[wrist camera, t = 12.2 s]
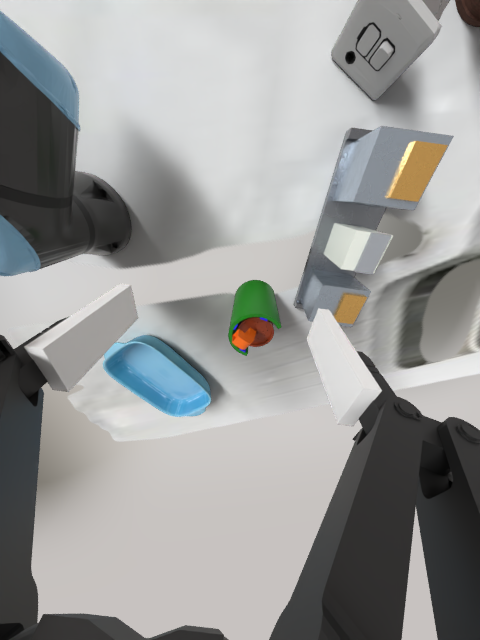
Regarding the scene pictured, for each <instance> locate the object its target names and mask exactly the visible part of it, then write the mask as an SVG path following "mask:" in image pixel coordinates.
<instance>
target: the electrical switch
mask: <svg viewBox="0 0 480 640" xmlns="http://www.w3.org/2000/svg"><path fill="white" fill-rule="evenodd" d="M449 1H450V0H358V1H357V3H356V5H355V7H354V9H353V11H352V13H351V15H350V17H349V18H348V20H347V22H346V24H345V26H344V28H343V30H342V32H341V34H340V35H339V37H338V39H337V41H336V43H335V45H334V47H333V49H332V51H331V56H332V59H333V60H334V61H335V62H336V63H337V64H338V65H339V66H340V67H341V68H342V69H343V70H344V71H345V72H346V73H347V74H348V75H349V76H350V77H351V78H352V79H353V80H354V81H355V82H356V83H357V84H358V85H359V86H360V87H361V88H362V89H363V90H364V91H365V92H366V93H367V94H368V95H369V96H370V97H371V98H372V99H373V100H374V99H378V98H379V97H380V96H381V95H382V94H383V93H384V92H385V91H386V90H387V89H388V88H389V87H390V86H391V85H392V84H393V83H394V82H395V81H396V80H397V79H398V77H399V76H400V75H401V74H402V73H403V72H404V71H405V70H406V69H407V68H408V67H409V66H410V65H411V64H412V63H413V62H414V61H415V60H416V59H417V58H418V57H419V56H420V55H421V54H422V53H423V52H424V51H425V50H426V49H427V48H428V47H429V46H430V45H431V44H432V42H433V41H434V39H435V38H436V37H437V35H438V33H439V31H440V29H441V27H442V26H441V24H440V23H439V22H438V21H439V19H440V17H441V15H442V12H443V11H444V9H445V7H446V6H447V4H448V3H449ZM440 4H441V5H440Z"/></svg>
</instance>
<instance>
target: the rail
mask: <svg viewBox="0 0 480 640" xmlns="http://www.w3.org/2000/svg"><path fill="white" fill-rule="evenodd" d="M453 137H454V136H450V135H443V134H435V133H428V132H421V131H414V130H407V129H400V128H393V127H385V126H381V127H379V128H377V129H375V130H374V131H372V130H365V129H357V128H351V129H349V130H348V131H346V134H345V137H344V140H343V144H342V147H341V150H340V153H339V157H338V160H337V163H336V167H335V170H334V173H333V176H332V180H331V183H330V186H329V190H328V193H327V196H326V199H325V203H324V206H323V209H322V213H321V216H320V219H319V222H318V226H317V229H316V232H315V236H314V239H313V242H312V246H311V249H310V252H309V256H308V259H307V262H306V265H305V269H304V272H303V275H302V278H301V282H300V285H299V288H298V291H297V295H296V298H295V301H294V306H295V308H300V309H304V311H305V314H306V316H307V318H308V321H312V322H313V321H314V318H315V316H316V313H317V310H318V308H319V309H327V310H330V312H331V313H332V315H333V316H334V318H335V319H336V321H337V323H338V324H339V325H341V326H348V327H352V326H353V324H354V323H355V321H356V319H357V317H358V315H359V313H360V311H361V309H362V308H363V306H364V304H365V302H366V300H367V298H368V296H369V294H370V292H371V291H370V290H369V289H367V288H366V287H365V286H364V285H363V284H361V283H360V282H359V281H358V280H357V279H355V278H354V277H355V275H356V272H355V271H351V270H344V269H340V268H339V267H338V266H337V265H336V264H334V263H333V262H332V261H331V260H330V259H329V258H327V257H326V256H325V255H324V251H325V248H326V246H327V243H328V240H329V237H330V234H331V231H332V228H333V225H334V223H339V224H346V225H353V226H360V227H365V228H369V229H372V230H376V229H377V227H378V225H379V222H380V220H381V218H382V216H383V214H384V212H385V209H386V208H394V209H406V210H415V208H416V206H417V204H418V202H419V200H420V199H421V197H422V195H423V193H424V191H425V189H426V187H427V185H428V184H429V182H430V180H431V178H432V176H433V174H434V172H435V170H436V168H437V167H438V165H439V163H440V161H441V159H442V157H443V155H444V153H445V152H446V150H447V148H448V146H449V144H450V142H451V140H452V138H453Z"/></svg>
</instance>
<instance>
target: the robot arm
mask: <svg viewBox="0 0 480 640" xmlns="http://www.w3.org/2000/svg"><path fill="white" fill-rule="evenodd" d="M78 120H79V92H78V88H77V85H76V83H75V81H74V79H73V78H72V76H71V74H70V73H69V72H68V70H67V69H66V68H65V67H64V66H63V65H62V64H61V63H60V62H59V61H58V60H57V59H56V58H55V57H54V56H52V55H51V54H50V53H49V52H48V51H47V50H46V49H45V48H43V47H42V46H41V45H40V44H39V43H38V42H37V41H35V40H34V39H33V38H32V37H31V36H30V35H28V34H27V33H26V32H25V31H24V30H23V29H21V28H20V27H19V26H18V25H17V24H16V23H14V22H13V21H12V20H11V19H10V18H8V17H7V16H6V15H5V14H4V13H2V12H1V11H0V276H13V275H17V274H21V273H25V272H33V271H37V270H39V269H41V268H44V267H47V266H49V265H52V264H55V263H58V262H61V261H64V260H67V259H69V258H72V257H75V256H78V255H81V254H93V255H109V254H113V253H115V252H118V251H120V250H122V249H123V248H124V247H125V246H126V245H127V243H128V241H129V239H130V235H131V222H130V217H129V214H128V211H127V209H126V207H125V205H124V203H123V201H122V200H121V198H120V197H119V195H118V194H117V193H116V192H115V190H114V189H113V188H112V187H111V186H110V185H108V184H107V183H106V182H105V181H103V180H102V179H100V178H98V177H97V176H94V175H92V174H89V173H85V172H78V171H75V165H76V153H77V141H78V131H80V125H79V123H78ZM137 319H138V315H137V311H136V306H135V301H134V297H133V292H132V288H131V285H127V284H119V285H117V286H116V287H114V288H113V289H111V290H110V291H108V292H106V293H105V294H103V295H102V296H100V297H99V298H97V299H96V300H94V301H93V302H91V303H90V304H88V305H87V306H85V307H84V308H82V309H81V310H79V311H78V312H76V313H74V314H73V315H72V316H69V317H67V318H64V319H62V320H59V321H57V322H56V323H54V324H53V325H51V326H50V327H49V328H46V329H45V330H43V331H42V333H39V334H37V335H36V336H34V337H32V338H31V339H29V340H28V341H26V342H25V343H23V344H21V345H20V346H18V347H17V348H15V349H13V348H12V347H11V345H10V344H9V342H8V341H7V340H6V338H5V337H4V336H2V335H0V640H228V639H227V638H225V637H224V635H223V634H222V632H221V631H220V630H219V629H213V628H204V627H196V626H187V625H185V626H182V627H179V628H177V629H174V630H171V631H168V632H166V633H163V634H160V635H157V636H155V637H152V638H144V637H142V636H141V635H140V634H139V633H137V632H136V631H134V630H133V629H132V628H130V627H129V626H128V625H126V624H125V623H123V622H122V621H121V620H119V619H118V618H116V617H108V616H99V615H90V614H43V616H42V618H41V620H40V622H39V623H37V617H38V616H37V615H38V593H37V586H36V584H35V581H34V579H33V576H32V573H31V557H32V545H33V530H34V517H35V504H36V491H37V477H38V464H39V451H40V437H41V436H40V435H41V423H42V410H43V397H44V392H43V390H42V388H41V387H42V386H43V385H44V384H45V383H47V382H48V384H49V385H50V387H51V388H52V390H57V391H66V392H69V391H70V390H71V389H72V388H73V387H74V386H75V385H76V384H77V383H78V381H79V380H80V379H81V378H82V377H83V376H84V375H85V374H86V373H87V372H88V371H89V370H90V369H91V368H92V367H93V366H94V365H95V363H96V362H97V361H98V360H99V359H100V358H101V357H102V356H103V355H104V354H105V353H106V352H107V351H108V350H109V349H110V348H111V347H112V345H113V344H114V343H115V342H116V341H117V340H118V339H119V338H120V337H121V336H122V335H123V334H124V333H125V332H126V331H127V330H128V329H129V327H130V326H131V325H132V324H133V323H134V322H135V321H136V320H137ZM307 342H308V344H309V347H310V350H311V353H312V355H313V358H314V361H315V364H316V366H317V369H318V372H319V375H320V377H321V380H322V383H323V386H324V388H325V391H326V394H327V397H328V399H329V402H330V405H331V408H332V410H333V413H334V416H335V419H336V421H337V424H338V425H346V426H354V425H355V423H356V422H357V421H358V420H360V423H361V425H362V427H363V428H362V429H361V430H360V431H359V432H358V433H357V434H356V436H355V437H354V438H353V440H354V441H355V440H356V441H355V443H354V446H353V448H352V450H351V453H350V456H349V458H348V460H347V463H346V465H345V468H344V470H343V473H342V475H341V477H340V480H339V482H338V485H337V487H336V490H335V492H334V495H333V497H332V499H331V502H330V504H329V507H328V509H327V512H326V514H325V517H324V519H323V521H322V524H321V527H320V529H319V531H318V534H317V536H316V538H315V541H314V543H313V546H312V548H311V551H310V553H309V555H308V558H307V560H306V563H305V565H304V568H303V570H302V573H301V575H300V577H299V580H298V583H297V585H296V587H295V590H294V592H293V594H292V597H291V599H290V601H289V603H288V605H287V606H286V608H285V609H284V611H283V612H282V614H281V616H280V617H279V619H278V621H277V623H276V625H275V628H274V630H273V632H272V634H271V637H270V639H269V640H401V638H402V629H403V619H404V610H405V601H406V591H407V582H408V572H409V563H410V553H411V544H412V534H413V525H414V516H415V507H416V509H417V515H418V521H419V526H420V533H421V539H422V545H423V552H424V558H425V564H426V570H427V576H428V582H429V588H430V594H431V601H432V606H433V612H434V619H435V625H436V631H437V637H438V640H480V430H478V429H477V428H476V427H474V426H473V425H471V424H469V423H467V422H465V421H464V420H461V419H458V418H455V417H449V418H447V419H446V420H445V421H444V422H442V423H441V422H439V421H436V420H433V419H430V418H428V417H425V416H423V415H422V414H421V413H420V411H419V410H418V409H417V408H416V407H415V406H414V405H413V404H411V403H410V402H408V401H407V400H404V399H402V398H400V397H397V396H396V395H395V393H394V392H393V390H392V389H391V388H390V386H389V385H388V383H387V382H386V381H385V379H384V378H383V376H382V375H381V374H380V372H379V371H378V369H377V368H375V365H374V364H373V362H372V361H371V359H370V358H369V357H367V356H366V355H365V354H364V353H363V352H358V351H356V350H355V349H354V347H353V345H352V344H351V342H350V341H349V339H348V338H347V336H346V335H345V333H344V332H343V330H342V329H341V327H340V326H339V324H338V323H337V321H336V319H335V318H334V316H333V315H332V313H331V312H330V310H327V309H319V308H318V310H317V313H316V316H315V318H314V321H313V324H312V326H311V329H310V331H309V334H308V337H307Z"/></svg>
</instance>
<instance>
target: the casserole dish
mask: <svg viewBox="0 0 480 640" xmlns="http://www.w3.org/2000/svg"><path fill="white" fill-rule="evenodd" d="M104 357H105V360H104V362H103V368H104V370H105V371H106V372H107V374H108V375H109V376H111V377H112V378H113V379H114V380H116V381H117V382H118V383H120V384H121V385H123V386H124V387H125V388H127V389H128V390H130V391H131V392H133V393H134V394H136V395H137V396H139V397H140V398H142V399H143V400H145V401H146V402H148V403H149V404H151V405H152V406H154V407H155V408H157V409H158V410H160V411H162V412H163V413H165V414H168V415H170V416H175V417H182V416H197V415H200V414H202V413H203V412H205V410H206V407H207V406H208V405H209V404H210V403H211V394H210V387H209V384H208V382H207V381H206V380H205V378H204V377H203V376H202V375H201V374H200V373H199V372H198V371H196V370H195V369H194V368H193V367H192V366H191V365H190V364H188V363H187V362H186V361H185V360H184V359H183V358H182V357H181V356H179V355H178V354H177V353H176V352H175V351H174V350H173V349H171V348H170V347H169V346H168V345H166V344H165V343H164V342H162V341H161V340H159V339H157V338H155V337H153V336H148V335H144V336H139V337H137V338H135V339H133V340H131V341H129V342H128V343H114V344H113V345H112V347H111V348H110V349H109V350H108V351H107V352H106V353H105V354H104Z"/></svg>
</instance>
